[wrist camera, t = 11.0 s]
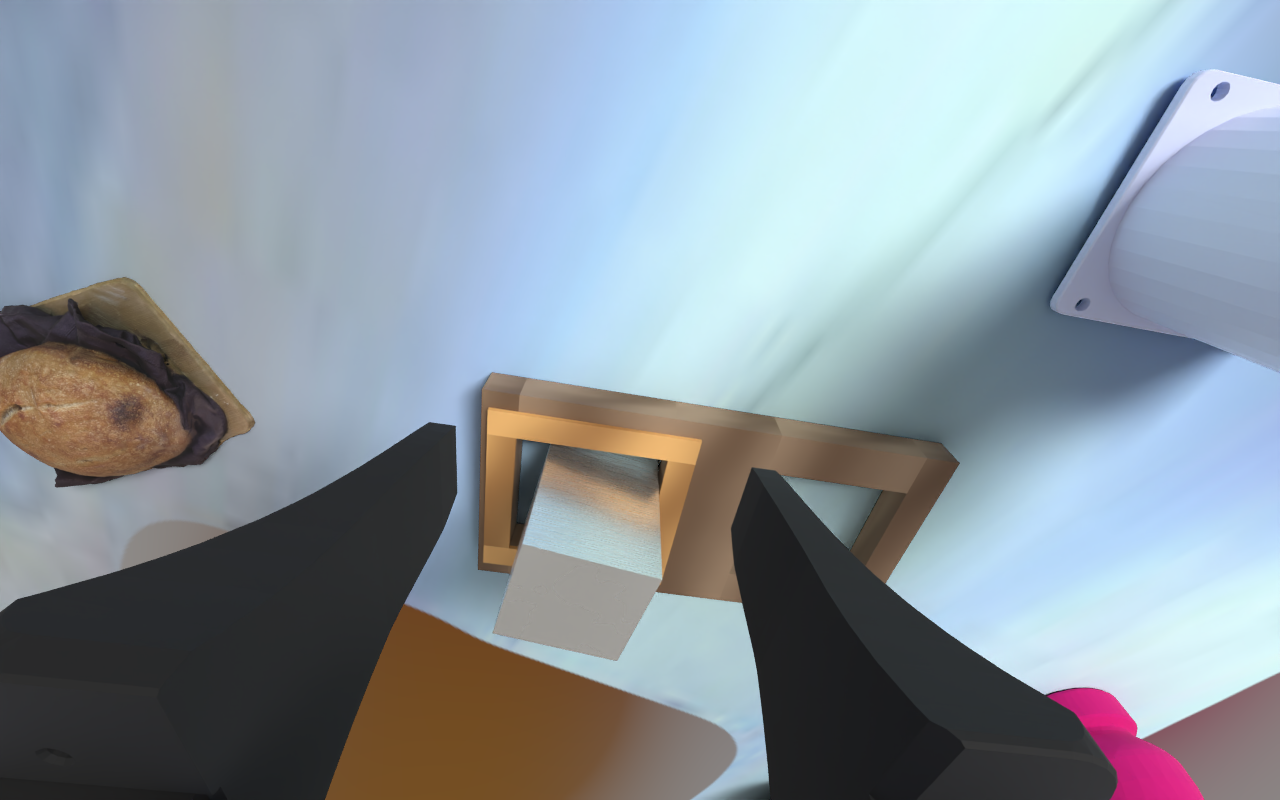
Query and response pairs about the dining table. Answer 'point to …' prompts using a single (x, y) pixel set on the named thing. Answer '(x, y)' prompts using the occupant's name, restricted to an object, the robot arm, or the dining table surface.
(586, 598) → the light grey block
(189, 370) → the bread roll
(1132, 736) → the pepper mill
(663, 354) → the dining table surface
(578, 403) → the wooden board with holes
